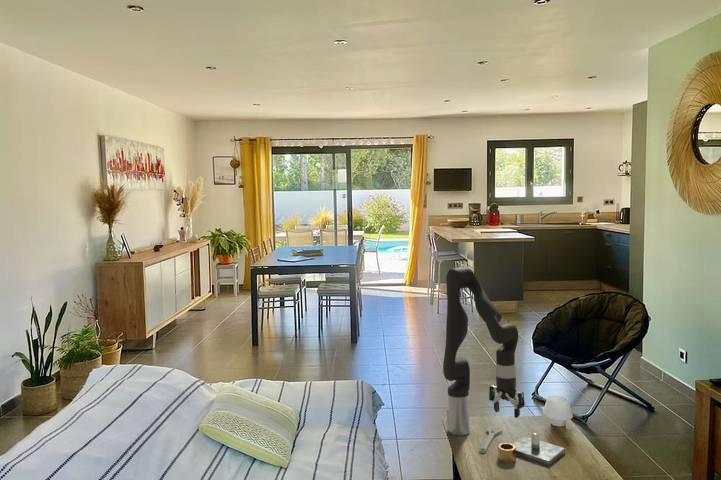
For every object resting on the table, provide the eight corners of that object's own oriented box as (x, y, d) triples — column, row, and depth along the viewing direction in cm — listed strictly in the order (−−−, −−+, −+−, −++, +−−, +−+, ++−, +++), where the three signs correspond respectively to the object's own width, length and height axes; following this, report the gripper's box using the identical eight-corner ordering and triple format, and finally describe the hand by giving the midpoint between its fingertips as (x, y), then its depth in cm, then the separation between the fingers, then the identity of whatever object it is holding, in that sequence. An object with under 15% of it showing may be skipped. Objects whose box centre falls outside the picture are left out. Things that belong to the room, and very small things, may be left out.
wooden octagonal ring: (495, 459, 211) (495, 447, 211) (504, 453, 216) (503, 441, 215) (510, 464, 207) (509, 451, 206) (518, 458, 211) (518, 446, 211)
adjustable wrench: (485, 455, 216) (485, 451, 216) (470, 451, 220) (470, 447, 219) (503, 431, 237) (503, 427, 237) (489, 428, 241) (489, 424, 241)
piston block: (506, 452, 217) (506, 433, 216) (523, 440, 227) (523, 422, 226) (548, 466, 204) (548, 445, 203) (564, 452, 214) (564, 433, 213)
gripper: (484, 373, 211) (486, 412, 213) (517, 380, 201) (518, 422, 203) (494, 368, 217) (495, 407, 218) (527, 375, 207) (528, 416, 208)
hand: (506, 414), depth 210 cm, fingers open, 8 cm apart
